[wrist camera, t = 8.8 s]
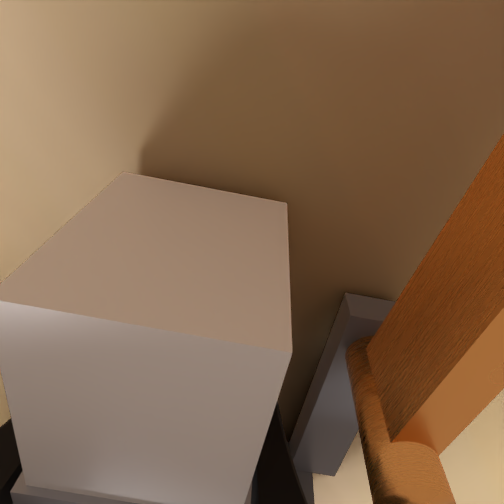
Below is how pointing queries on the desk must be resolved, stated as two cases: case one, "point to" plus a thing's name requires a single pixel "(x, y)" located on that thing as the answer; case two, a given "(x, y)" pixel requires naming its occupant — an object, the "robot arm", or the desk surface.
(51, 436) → the plug
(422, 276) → the orange long bar
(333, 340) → the socket block
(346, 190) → the desk surface
